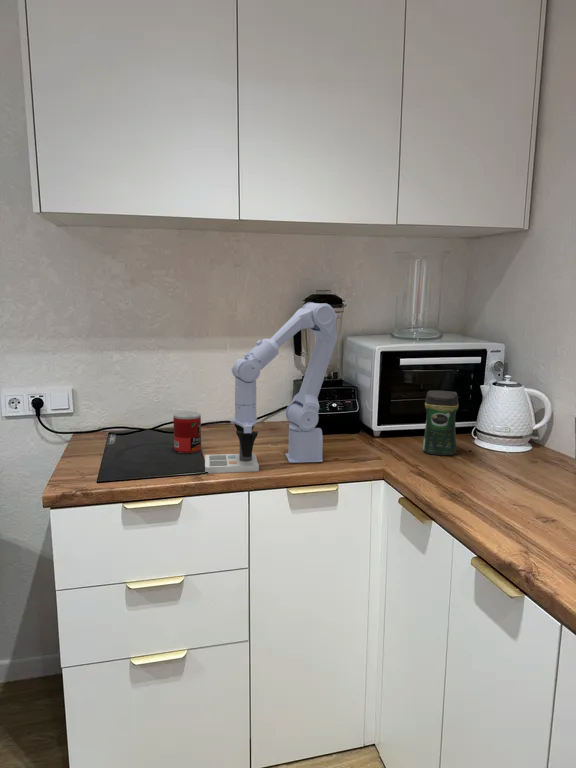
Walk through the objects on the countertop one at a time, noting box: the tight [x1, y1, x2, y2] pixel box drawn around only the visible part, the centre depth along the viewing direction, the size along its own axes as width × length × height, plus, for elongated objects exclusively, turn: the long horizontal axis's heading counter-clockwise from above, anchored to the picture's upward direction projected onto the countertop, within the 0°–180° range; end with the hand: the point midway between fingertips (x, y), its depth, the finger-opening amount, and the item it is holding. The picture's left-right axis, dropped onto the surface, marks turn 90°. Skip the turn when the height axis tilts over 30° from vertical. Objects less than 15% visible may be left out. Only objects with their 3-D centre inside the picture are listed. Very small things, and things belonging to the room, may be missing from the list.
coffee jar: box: [422, 390, 459, 456], centre depth 169 cm, size 10×8×19 cm
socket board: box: [204, 452, 260, 474], centre depth 155 cm, size 14×11×2 cm
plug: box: [239, 443, 252, 461], centre depth 155 cm, size 3×3×7 cm
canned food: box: [173, 411, 202, 454], centre depth 168 cm, size 8×8×11 cm
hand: (245, 452), depth 155 cm, fingers open, 7 cm apart
